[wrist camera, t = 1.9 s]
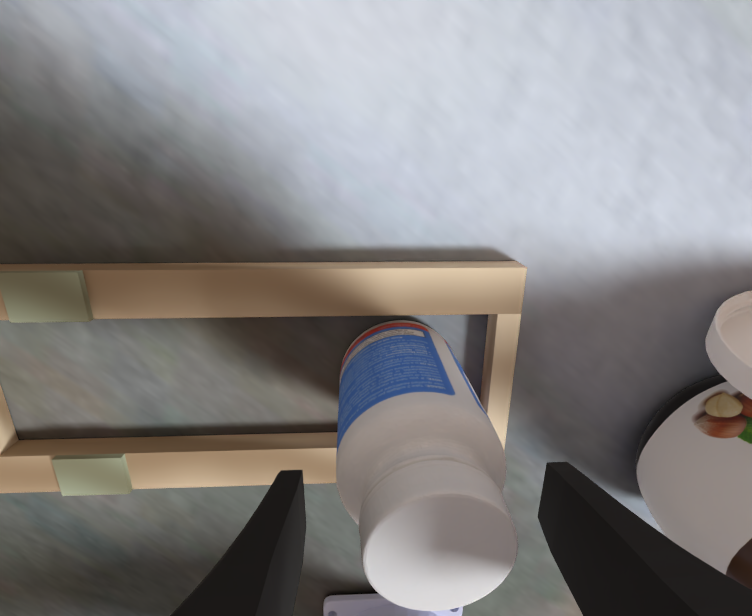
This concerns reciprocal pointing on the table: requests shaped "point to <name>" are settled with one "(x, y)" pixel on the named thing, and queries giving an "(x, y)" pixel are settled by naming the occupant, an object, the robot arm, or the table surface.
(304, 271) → the open wooden frame
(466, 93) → the table surface
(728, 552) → the spread jar
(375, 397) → the pill bottle
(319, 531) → the table surface
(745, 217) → the table surface
